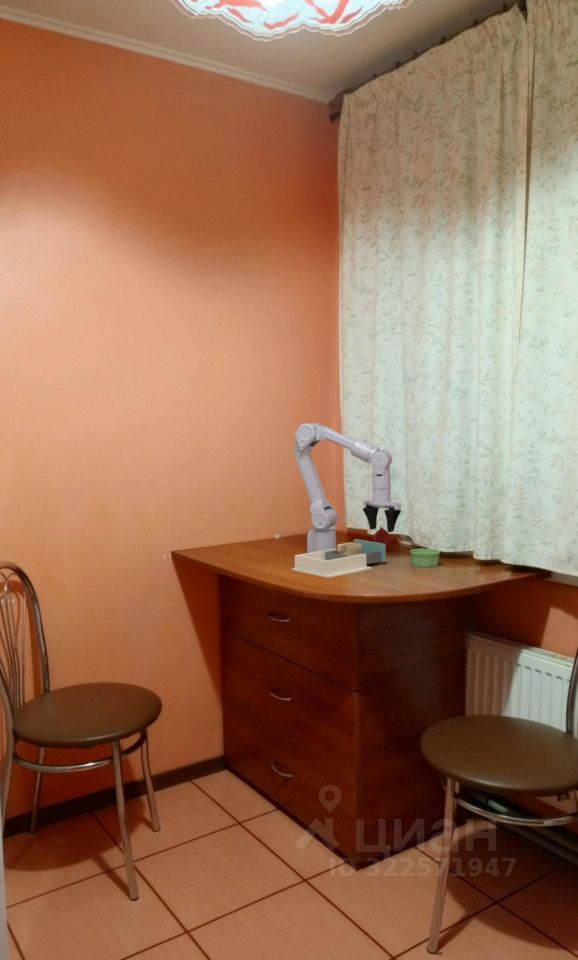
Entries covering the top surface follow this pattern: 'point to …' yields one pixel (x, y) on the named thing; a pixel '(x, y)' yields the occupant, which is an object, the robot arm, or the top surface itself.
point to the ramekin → (424, 557)
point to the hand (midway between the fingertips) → (381, 530)
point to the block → (349, 549)
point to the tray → (364, 552)
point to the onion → (382, 537)
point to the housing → (329, 564)
